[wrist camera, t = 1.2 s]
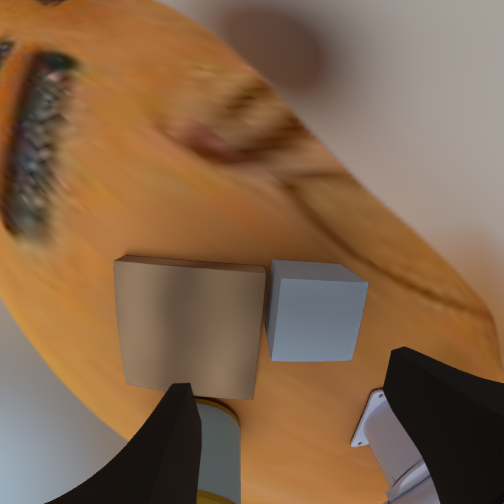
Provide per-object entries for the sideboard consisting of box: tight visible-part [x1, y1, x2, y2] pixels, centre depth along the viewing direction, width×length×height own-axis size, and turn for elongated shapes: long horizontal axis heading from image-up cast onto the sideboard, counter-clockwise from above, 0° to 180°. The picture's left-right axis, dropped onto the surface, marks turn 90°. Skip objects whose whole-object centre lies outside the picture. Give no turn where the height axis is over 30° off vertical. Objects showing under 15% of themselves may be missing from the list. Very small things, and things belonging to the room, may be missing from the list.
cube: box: [265, 259, 369, 362], centre depth 17 cm, size 5×5×5 cm
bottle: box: [195, 398, 241, 504], centre depth 14 cm, size 7×7×15 cm
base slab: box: [114, 255, 266, 400], centre depth 19 cm, size 10×10×2 cm
